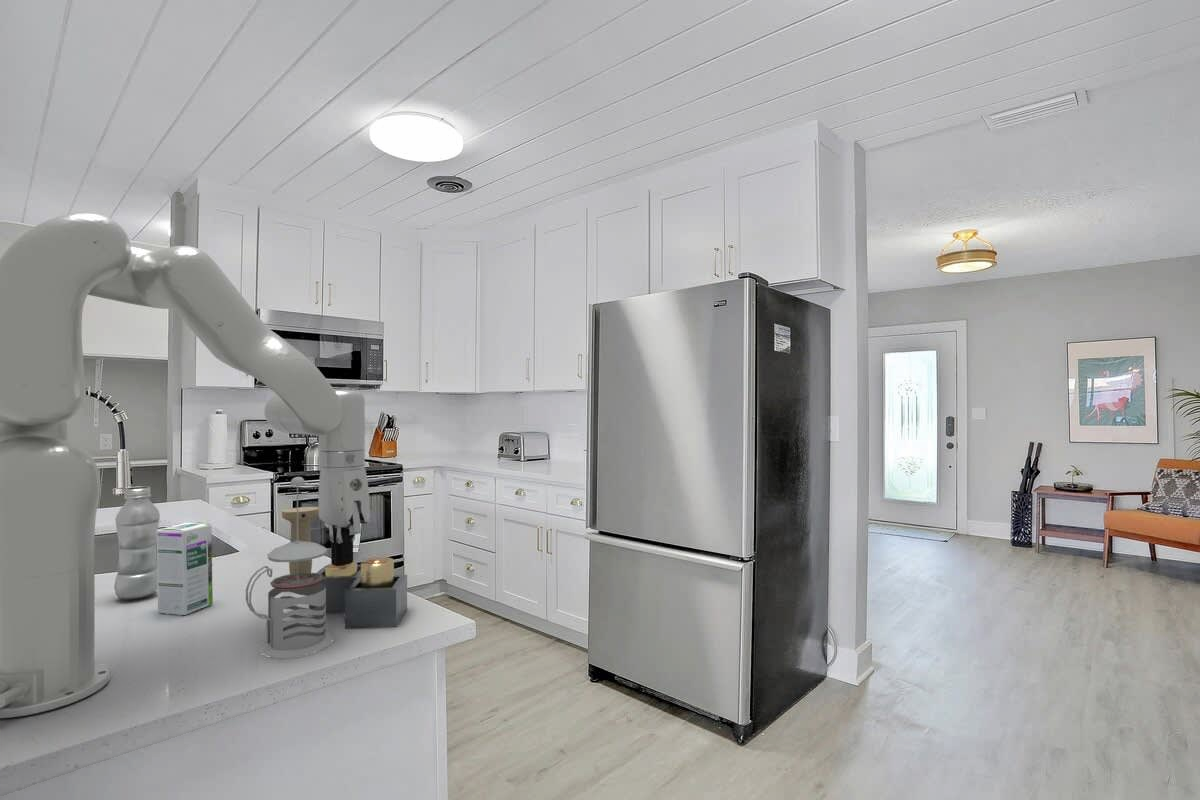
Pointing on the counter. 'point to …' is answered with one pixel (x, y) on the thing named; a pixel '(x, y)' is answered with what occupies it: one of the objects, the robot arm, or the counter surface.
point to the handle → (300, 533)
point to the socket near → (375, 604)
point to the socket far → (336, 590)
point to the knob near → (377, 573)
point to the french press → (294, 602)
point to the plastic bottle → (137, 545)
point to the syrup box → (184, 568)
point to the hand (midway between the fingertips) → (342, 563)
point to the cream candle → (341, 570)
